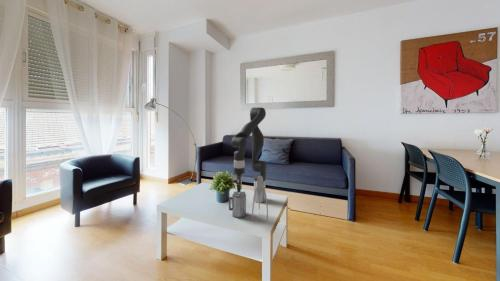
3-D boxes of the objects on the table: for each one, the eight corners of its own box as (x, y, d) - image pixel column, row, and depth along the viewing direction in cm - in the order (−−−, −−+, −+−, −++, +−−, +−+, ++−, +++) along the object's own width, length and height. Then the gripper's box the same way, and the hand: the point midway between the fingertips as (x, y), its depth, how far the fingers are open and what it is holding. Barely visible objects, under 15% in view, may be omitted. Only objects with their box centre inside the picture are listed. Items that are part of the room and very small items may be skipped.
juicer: (266, 214, 144) (266, 172, 140) (267, 220, 135) (268, 176, 131) (251, 214, 143) (251, 172, 140) (252, 220, 134) (252, 176, 131)
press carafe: (245, 218, 138) (245, 196, 136) (228, 217, 138) (227, 196, 136) (246, 211, 147) (246, 191, 145) (230, 211, 148) (230, 191, 146)
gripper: (234, 163, 145) (235, 187, 148) (232, 168, 131) (232, 194, 134) (245, 164, 145) (245, 187, 147) (243, 169, 131) (243, 194, 133)
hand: (239, 190), depth 140 cm, fingers closed on plunger, 3 cm apart
